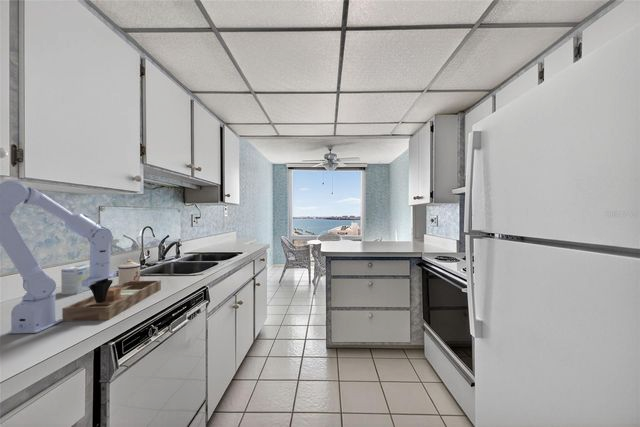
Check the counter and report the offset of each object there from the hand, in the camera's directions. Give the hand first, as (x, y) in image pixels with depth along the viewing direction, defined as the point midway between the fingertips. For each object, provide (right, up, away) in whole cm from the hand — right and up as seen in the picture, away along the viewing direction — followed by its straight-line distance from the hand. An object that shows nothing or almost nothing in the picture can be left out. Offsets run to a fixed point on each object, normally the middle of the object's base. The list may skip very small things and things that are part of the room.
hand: (100, 302), depth 99 cm
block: (0, -1, +6) cm, 6 cm away
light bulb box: (-30, -4, +27) cm, 40 cm away
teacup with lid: (-16, -3, +40) cm, 43 cm away
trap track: (-1, -4, +11) cm, 12 cm away
